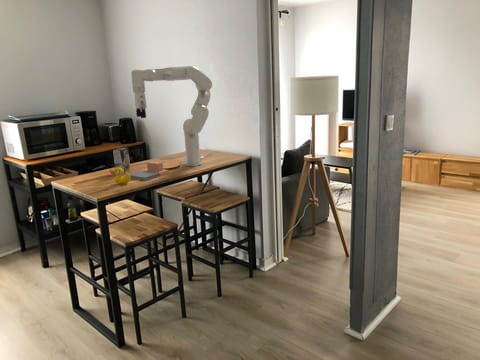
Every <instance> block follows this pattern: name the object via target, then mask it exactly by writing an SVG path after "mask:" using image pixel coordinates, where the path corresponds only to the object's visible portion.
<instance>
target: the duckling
mask: <svg viewBox="0 0 480 360" xmlns="http://www.w3.org/2000/svg"><path fill="white" fill-rule="evenodd" d="M109 173H110V174H111V175H114V178H113V180H114V182H115V183H116V184H118V185H125V184H127V183H129V182H130V180H131V178H130V172H128V173H126V174H124V175H123V173H124V169H122V168H120V167H117V168H115V167H114V169H113V170H111V169H109Z"/></svg>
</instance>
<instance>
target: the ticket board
mask: <svg viewBox="0 0 480 360" xmlns="http://www.w3.org/2000/svg"><path fill="white" fill-rule="evenodd" d="M143 170H144V169H141V170H138V171H134V172H131V173H130V172H129V174H130V179H132V180H138V181H139V180H140V181H144V182H146V181H149V180H151V179H152V180H153V179H155V178H158V177H160V176H159V173H155V172H149V171H143Z"/></svg>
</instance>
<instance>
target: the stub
mask: <svg viewBox="0 0 480 360" xmlns="http://www.w3.org/2000/svg"><path fill="white" fill-rule="evenodd" d="M142 170H143V171H149V172H155V173H159V177H161V176H165V175H167V174H170V171H169V169H165V168H164V165H163V162H161V161H154V160H152V161H146V168H145V169H142Z"/></svg>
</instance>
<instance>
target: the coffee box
mask: <svg viewBox="0 0 480 360" xmlns="http://www.w3.org/2000/svg"><path fill="white" fill-rule="evenodd" d="M112 151H113V153H112V154H113V161H114V162H113V163H114V169H115V168H117V167H120V168H122V169H124V173H123V175H122V176H125V175H126V173H130V172H131V163H130V154H129V147H118V148H115V149H113V150H112Z"/></svg>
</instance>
